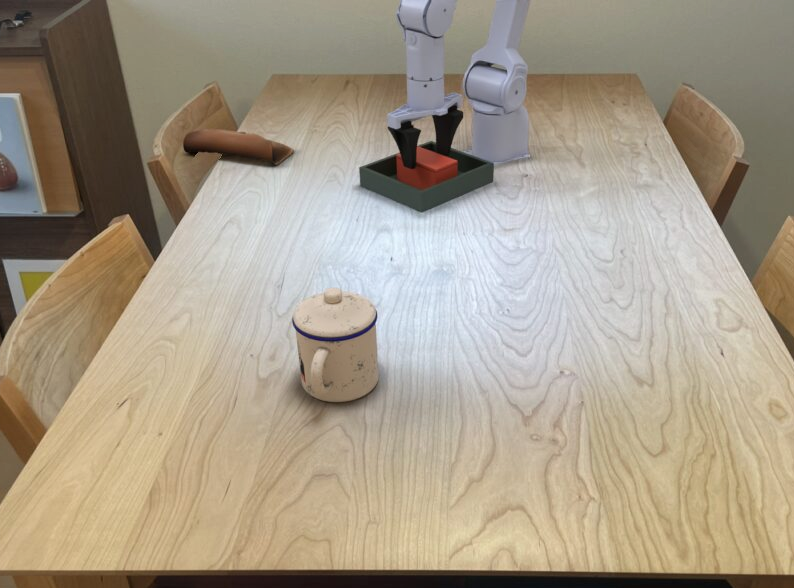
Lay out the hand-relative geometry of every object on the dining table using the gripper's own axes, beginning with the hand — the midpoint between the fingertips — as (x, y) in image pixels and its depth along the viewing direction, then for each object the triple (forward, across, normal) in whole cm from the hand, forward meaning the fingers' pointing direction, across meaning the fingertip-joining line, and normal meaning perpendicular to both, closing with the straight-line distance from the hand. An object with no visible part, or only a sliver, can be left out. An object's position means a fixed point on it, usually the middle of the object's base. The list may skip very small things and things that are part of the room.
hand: (426, 160), depth 141 cm
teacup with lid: (+5, -46, -32) cm, 56 cm away
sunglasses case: (+5, -13, +34) cm, 37 cm away
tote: (+4, 0, 0) cm, 5 cm away
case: (+4, 0, 0) cm, 4 cm away
